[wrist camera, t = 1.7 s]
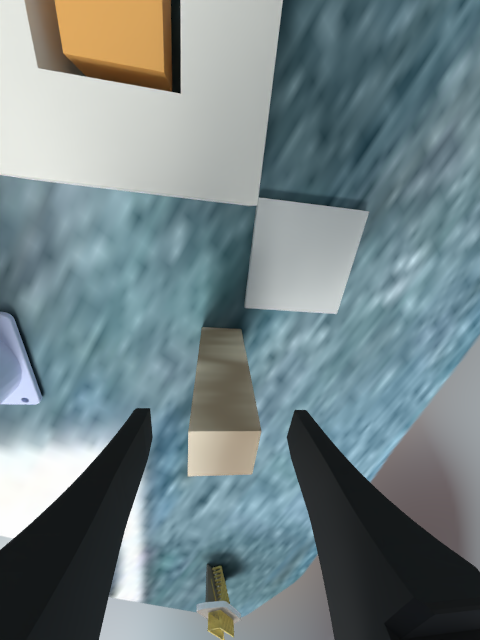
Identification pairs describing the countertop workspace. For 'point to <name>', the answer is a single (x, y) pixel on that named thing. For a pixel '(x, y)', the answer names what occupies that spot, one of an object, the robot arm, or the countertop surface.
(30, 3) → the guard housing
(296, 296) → the mat
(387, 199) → the countertop surface
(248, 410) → the wooden square post
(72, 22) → the button
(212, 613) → the gold pronged connector
